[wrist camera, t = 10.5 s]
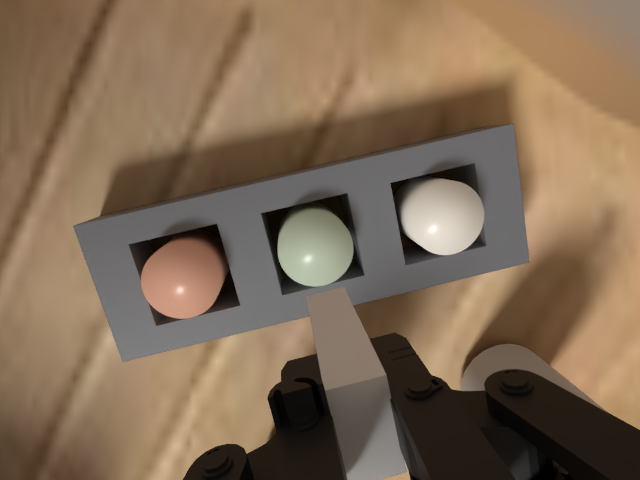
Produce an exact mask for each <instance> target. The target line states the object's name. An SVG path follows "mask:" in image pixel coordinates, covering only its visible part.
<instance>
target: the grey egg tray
mask: <svg viewBox="0 0 640 480" xmlns="http://www.w3.org/2000/svg"><path fill="white" fill-rule="evenodd" d="M451 168H453V170H454V177H455V181H458V182H462V183H464V184H466V185H468V186H470V187H471V188H472V189H473V190H474V191H475V192H476V193H477V194H478V196H479V197H480V199H481V201H482V204H483V208H484V222H483V226H482V229H481V232H480V234H479V235H478V237H477V238H476V240H475V241H474V242H473V243H472V244H471V245H470V246H469V247H467V248H466V249H464V250H463V251H461V252H459V253H456V254H452V255H438V254H434V253H431V252H429V251H427V250H426V249H424V248H423V247H421V246H420V245H419V246H415V247H411V248H407V249H402V243H401V238H400V232H399V227H398V221H397V216H396V211H395V205H394V200H393V194H392V189H391V184H390V183H392V182H396V181H400V180H405V179H409V178H413V177H417V176H422V175H426V174H430V173H434V172H439V171H443V170H447V169H451ZM337 195H341V196H342V200H343V205H344V210H345V215H346V219H347V224H348V229H349V232H350V235H351V237H352V240H353V252H354V257H355V261H353V262H351V263H350V265H349V267H348V269H347V270H346V272H345V273H344V274H343V275H342V276H341V277H340V278H339V279H337V280H336V281H334V282H332V283H330V284H327V285H324V286H317V287H313V286H306V285H302V284H300V283H298V282H296V281H294V280H293V279H291V278H290V277H287V278H282V275H281V271H280V267H279V264H278V260H277V256H276V252H275V248H274V244H273V240H272V236H271V232H270V229H269V225H268V221H267V217H266V213H265V212H269V211H273V210H277V209H281V208H286V207H290V206H294V205H298V204H303V203H307V202H311V201H315V200H320V199H324V198H328V197H332V196H337ZM213 224H217V225H218V229H219V232H220V236H221V239H222V243H223V246H224V250H225V253H226V257H227V260H228V264H229V267H230V271H231V274H232V278H233V281H234V285H235V288H236V290H233V291H229V292H224V293H220V294H218V296H217V298H216V300H215V302H214V303H213V305H212V306H211V307H210V308H209V309H208V310H207V311H205V312H204V313H202V314H200V315H198V316H195V317H192V318H186V319H179V318H172V317H169V316H166V315H164V314H162V313H160V312H158V311H157V310H156V309H154V308H153V307H152V306H151V305H150V303H149V302H148V301H147V299H146V298H145V296H144V293H143V290H142V286H141V275H142V270H143V267H144V265H145V263H146V262H147V260H148V259H149V258H150V257H151V256H152V255H153V254H154V251H153V248H152V245H151V242H150V239H154V238H158V237H162V236H167V235H171V234H175V233H179V232H184V231H188V230H192V229H196V228H201V227H205V226H209V225H213ZM73 227H74V230H75V233H76V235H77V238H78V241H79V244H80V246H81V249H82V252H83V255H84V257H85V260H86V263H87V265H88V268H89V271H90V274H91V276H92V279H93V282H94V285H95V287H96V290H97V293H98V296H99V298H100V301H101V304H102V306H103V309H104V312H105V315H106V317H107V320H108V323H109V326H110V328H111V331H112V334H113V337H114V339H115V342H116V345H117V347H118V350H119V353H120V356H121V358H122V361H123V362H125V361H129V360H133V359H137V358H141V357H145V356H149V355H153V354H157V353H162V352H166V351H170V350H174V349H178V348H182V347H186V346H190V345H194V344H198V343H202V342H206V341H211V340H215V339H219V338H223V337H227V336H231V335H235V334H239V333H243V332H247V331H251V330H255V329H260V328H264V327H268V326H272V325H276V324H280V323H284V322H288V321H292V320H296V319H300V318H304V317H309V316H310V314H309V308H308V303H307V298H306V296H310V295H314V294H318V293H322V292H326V291H330V290H334V289H338V288H342V287H344V288H345V290H346V292H347V294H348V296H349V298H350V300H351V302H352V305H358V304H362V303H366V302H370V301H374V300H378V299H382V298H386V297H390V296H394V295H398V294H402V293H407V292H411V291H415V290H419V289H423V288H427V287H431V286H435V285H439V284H443V283H447V282H451V281H456V280H460V279H464V278H468V277H472V276H476V275H480V274H484V273H488V272H492V271H496V270H500V269H505V268H509V267H513V266H517V265H521V264H525V263H529V253H528V245H527V236H526V227H525V218H524V210H523V201H522V192H521V183H520V175H519V166H518V157H517V148H516V139H515V131H514V124H506V125H497V126H488V127H483V128H478V129H474V130H470V131H465V132H461V133H457V134H452V135H448V136H444V137H440V138H435V139H431V140H427V141H422V142H418V143H414V144H409V145H405V146H401V147H396V148H392V149H388V150H384V151H379V152H375V153H371V154H366V155H362V156H358V157H353V158H349V159H345V160H341V161H336V162H332V163H328V164H323V165H319V166H315V167H310V168H306V169H302V170H297V171H293V172H289V173H285V174H280V175H276V176H272V177H267V178H263V179H259V180H254V181H250V182H246V183H242V184H237V185H233V186H229V187H224V188H220V189H216V190H211V191H207V192H203V193H198V194H194V195H190V196H186V197H181V198H177V199H173V200H168V201H164V202H160V203H155V204H151V205H147V206H142V207H138V208H134V209H130V210H125V211H121V212H117V213H112V214H108V215H104V216H99V217H97V218H94V219H91V220H88V221H86V222H83V223H80V224H77V225H75V226H73Z"/></svg>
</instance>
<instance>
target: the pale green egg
mask: <svg viewBox="0 0 640 480" xmlns="http://www.w3.org/2000/svg"><path fill="white" fill-rule="evenodd" d="M352 257H353V240H352V237H351V235H350V232H349V231H348V229H347V228H346V226H345V225H344V224H343V223H342V221H341V220H340V219H339V218H338V216H337V215H336V214H335V213H334V212H333V211H332V210H331V209H330V208H328V207H326V206H325V205H322V204H319V203H303V204H300V205H297V206H295V207H294V208H292V209H291V210H290V211H288V212H287V214H286V215H285V216H284V217H283V219H282V221H281V224H280V227H279V233H278V258H279V262H280V264H281V267H282V268H283V270H284V271H285V273H286V274H287V275H288V276H289V277H290V278H291V279H293V280H294V281H296V282H298V283H300V284H302V285H306V286H313V287H317V286H324V285H327V284H330V283H332V282H334V281H336V280H337V279H339V278H340V277H341V276H342V275H343V274H344V273H345V272H346V270H347V269H348V267H349V265H350V263H351V261H352Z"/></svg>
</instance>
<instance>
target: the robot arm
mask: <svg viewBox="0 0 640 480" xmlns="http://www.w3.org/2000/svg"><path fill="white" fill-rule="evenodd" d="M306 298H307V303H308V308H309V314H310V319H311V324H312V330H313V335H314V340H315V346H316V351H317V354H314V355H310V356H306V357H302V358H298V359H294V360H290V361H287V363H286V364H285V366H284V368H283V369H282V371H281V382H280V383H278V384H276V385H275V386H274V387H273V388H272V389H271V391H270V392H269V395H268V402H269V405H270V409H271V412H272V416H273V419H274V423H275V426H276V435H275V436H274V437H273V438H272V439H271V440H270V441H268V442H267V443H266V444H264V445H263V446H261V447H259V448H257V449H255V450H253V451H251V452H250V453H248V454H246V452H245V450H244V448H243V447H241V446H239V445H237V444H225V445H221V446H217V447H215V448H213V449H210V450H208V451H206V452H205V453H204V454H202V455H201V456H200V457H199V458H197V459H196V460H195V462H194V463H193V464H192V465H191V467H190V468H189V470H188V471H187V473H186V475H185V477H184V478H183V480H379V479H383V478H387V477H390V476H394V475H398V474H402V473H405V472H407V470H406V466H405V462H406V465H407V467H408V470H409V474H410V479H411V480H640V430H639V429H637V428H635V427H633V426H631V425H629V424H628V423H626V422H624V421H622V420H620V419H618V418H617V417H615V416H613V415H611V414H609V413H607V412H606V411H604V410H602V409H600V408H598V407H597V406H595V405H593V404H591V403H589V402H587V401H586V400H584V399H582V398H580V397H578V396H576V395H575V394H573V393H571V392H569V391H567V390H566V389H564V388H562V387H560V386H558V385H556V384H555V383H553V382H551V381H549V380H547V379H545V378H544V377H542V376H540V375H538V374H535V373H533V372H530V371H527V370H520V369H506V370H501V371H498V372H494V373H493V374H491V375H490V376H488V377H487V379H486V381H485V383H484V387H485V390H482V391H458V390H452V389H450V387H449V386H448V384H447V383H446V382H444V381H443V380H442V379H441V378H438V377H435V376H432V375H431V374H430V373H429V371H428V370H427V368H426V367H425V365H424V364H423V362H422V361H421V359H420V358H419V356H418V355H417V354H416V352H415V351H414V349H413V348H412V346H411V345H410V343H409V342H408V340H407V339H406V338H405V337H403V336H401V335H399V334H397V333H392V334H388V335H384V336H380V337H376V338H372V339H369V338H368V336H367V334H366V331H365V329H364V327H363V325H362V323H361V321H360V319H359V317H358V315H357V313H356V311H355V309H354V307H353V305H352V302H351V300H350V298H349V296H348V294H347V292H346V290H345V288H344V287H342V288H338V289H334V290H330V291H326V292H322V293H318V294H314V295H310V296H306ZM404 460H405V461H404Z"/></svg>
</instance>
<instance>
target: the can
mask: <svg viewBox="0 0 640 480" xmlns="http://www.w3.org/2000/svg"><path fill="white" fill-rule="evenodd" d="M506 369H520V370H527V371H530V372H533V373H535V374H538V375H540V376H542V377H544V378H545V379H547V380H549V381H551V382H553V383H555V384H556V385H558V386H560V387H562V388H564V389H566V390H567V391H569V392H571V393H573V394H575V395H576V396H578V397H580V398H582V399H584V400H586V401H587V402H589V403H591V404H593V405H595V406H597V407H598V408H600V409H602V410H604V409H603V408H602V407H600V406H599V405H598V404H597V403H595V402H594V401H593V400H592V399H591V398H589V397H588V396H587V395H586V394H584V393H583V392H582V391H581V390H579V389H578V388H577V387H576V386H574V385H573V384H572V383H571V382H570V381H568V380H567V379H566V378H565V377H563V376H562V375H561V374H560V373H558V372H557V371H556V370H555V369H553V368H552V367H551V366H550V365H549V364H547V363H546V362H545V361H544V360H542V359H541V358H540V357H539V356H537V355H536V354H535V353H534V352H532V351H531V350H529V349H527V348H525V347H523V346H521V345H515V344H502V345H495V346H493V347H491V348H489V349H486V350H484V351H482V352H481V353H480V354H479V355H478V356H476V357H475V358H474V359H473V360H472V361H471V363H470V364H469V366H468V367H467V369H466V370H465V372H464V375H463V378H462V382H461V391H482V390H485V387H484V383H485V381H486V379H487V377H488V376H490V375H491V374H493V373H494V372H498V371H501V370H506ZM604 411H605V410H604ZM606 412H607V411H606ZM607 413H608V412H607Z"/></svg>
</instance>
